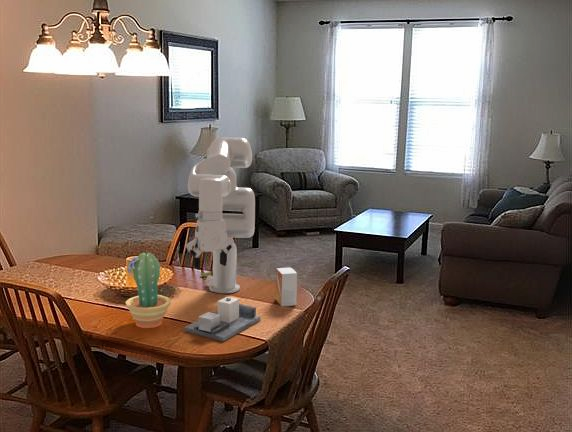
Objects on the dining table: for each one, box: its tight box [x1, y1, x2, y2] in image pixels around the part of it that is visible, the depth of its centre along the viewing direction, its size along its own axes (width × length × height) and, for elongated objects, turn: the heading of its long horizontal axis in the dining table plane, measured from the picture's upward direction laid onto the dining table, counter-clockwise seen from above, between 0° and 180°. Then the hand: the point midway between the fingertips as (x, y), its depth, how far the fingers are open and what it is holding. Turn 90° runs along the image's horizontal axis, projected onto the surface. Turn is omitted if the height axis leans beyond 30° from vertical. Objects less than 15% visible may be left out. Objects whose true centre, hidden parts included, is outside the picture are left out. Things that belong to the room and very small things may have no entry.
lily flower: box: [199, 267, 213, 280], centre depth 274 cm, size 12×12×5 cm
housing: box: [217, 296, 240, 323], centre depth 220 cm, size 5×6×8 cm
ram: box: [198, 311, 221, 332], centre depth 211 cm, size 5×8×4 cm, turn 151°
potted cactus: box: [125, 252, 172, 329], centre depth 216 cm, size 15×15×25 cm
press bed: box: [184, 303, 261, 342], centre depth 218 cm, size 16×23×4 cm
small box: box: [275, 267, 298, 307], centre depth 243 cm, size 8×6×13 cm
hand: (210, 266), depth 206 cm, fingers open, 9 cm apart
